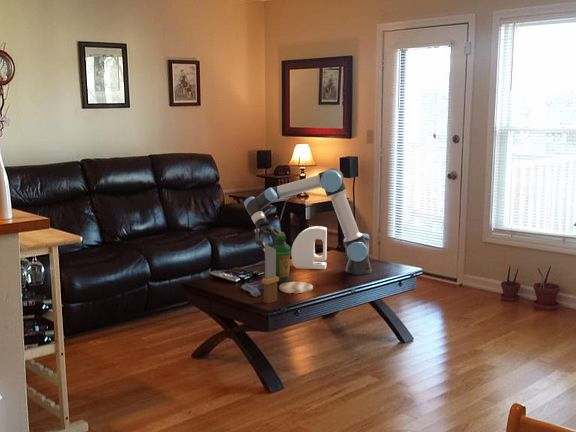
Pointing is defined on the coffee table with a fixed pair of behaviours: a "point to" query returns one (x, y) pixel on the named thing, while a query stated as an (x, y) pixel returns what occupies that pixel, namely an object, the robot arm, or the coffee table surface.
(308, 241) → the bracket
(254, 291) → the toy gun
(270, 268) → the knife
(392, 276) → the coffee table surface
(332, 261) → the coffee table surface
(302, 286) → the serving board
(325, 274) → the coffee table surface
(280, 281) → the bottle
